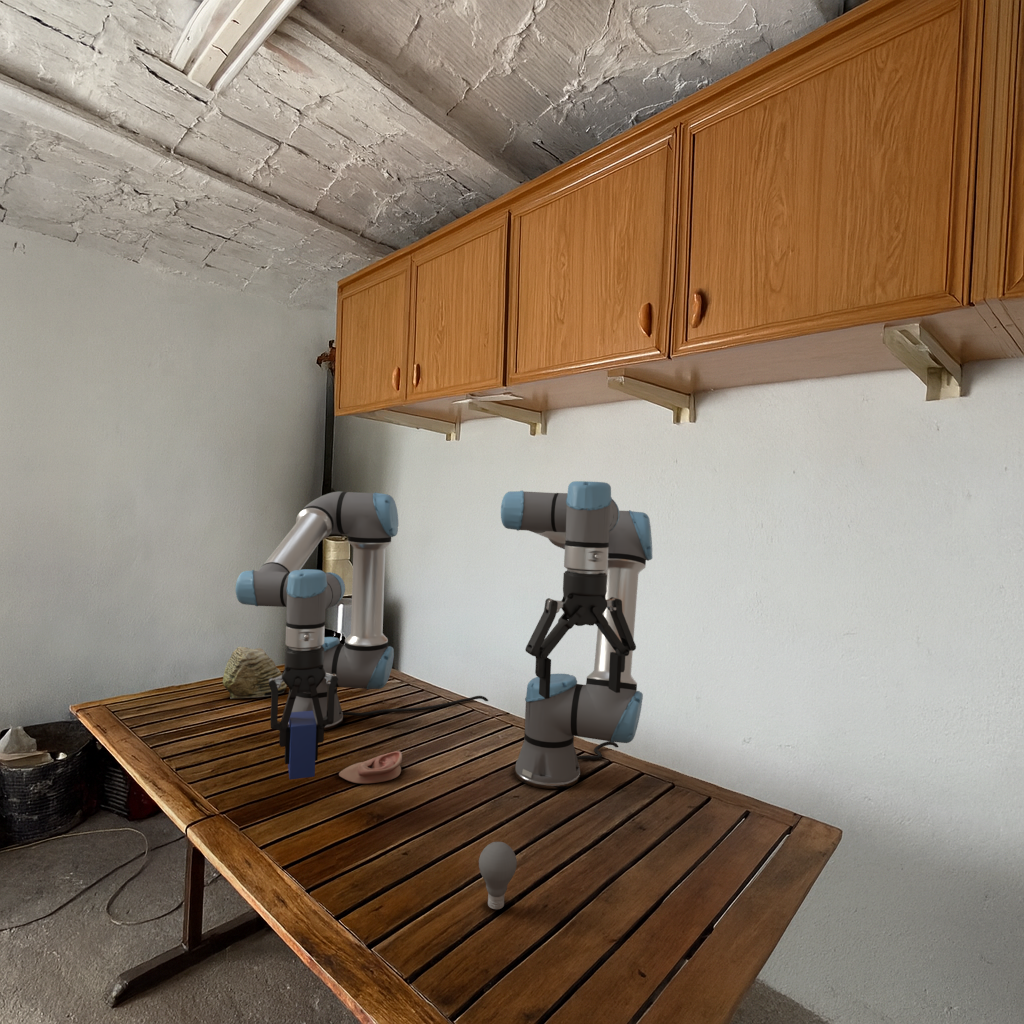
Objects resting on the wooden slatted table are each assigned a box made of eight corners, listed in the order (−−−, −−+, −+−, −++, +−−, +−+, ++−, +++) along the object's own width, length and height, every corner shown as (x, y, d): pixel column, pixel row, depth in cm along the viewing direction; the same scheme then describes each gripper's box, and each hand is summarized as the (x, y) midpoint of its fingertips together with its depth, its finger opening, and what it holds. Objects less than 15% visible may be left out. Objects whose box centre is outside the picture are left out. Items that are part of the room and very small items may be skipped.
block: (287, 762, 132) (289, 712, 132) (311, 759, 134) (312, 710, 134) (289, 779, 124) (291, 726, 124) (314, 776, 126) (316, 724, 126)
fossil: (218, 695, 195) (220, 647, 195) (278, 685, 208) (279, 640, 207) (228, 703, 189) (230, 653, 188) (289, 692, 201) (290, 645, 201)
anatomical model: (332, 762, 141) (355, 743, 152) (332, 780, 141) (355, 759, 153) (388, 770, 139) (407, 750, 150) (388, 788, 139) (407, 766, 150)
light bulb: (476, 895, 103) (478, 834, 102) (513, 894, 103) (515, 834, 103) (477, 919, 97) (480, 854, 96) (516, 919, 97) (519, 854, 97)
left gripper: (257, 653, 122) (253, 772, 122) (352, 648, 128) (348, 762, 129) (257, 644, 129) (254, 757, 129) (347, 640, 135) (343, 747, 136)
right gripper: (527, 573, 101) (521, 705, 101) (659, 573, 110) (653, 694, 111) (510, 568, 108) (504, 691, 108) (635, 568, 117) (630, 682, 118)
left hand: (301, 759), depth 129 cm, fingers closed on block, 5 cm apart
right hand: (579, 693), depth 110 cm, fingers open, 13 cm apart
